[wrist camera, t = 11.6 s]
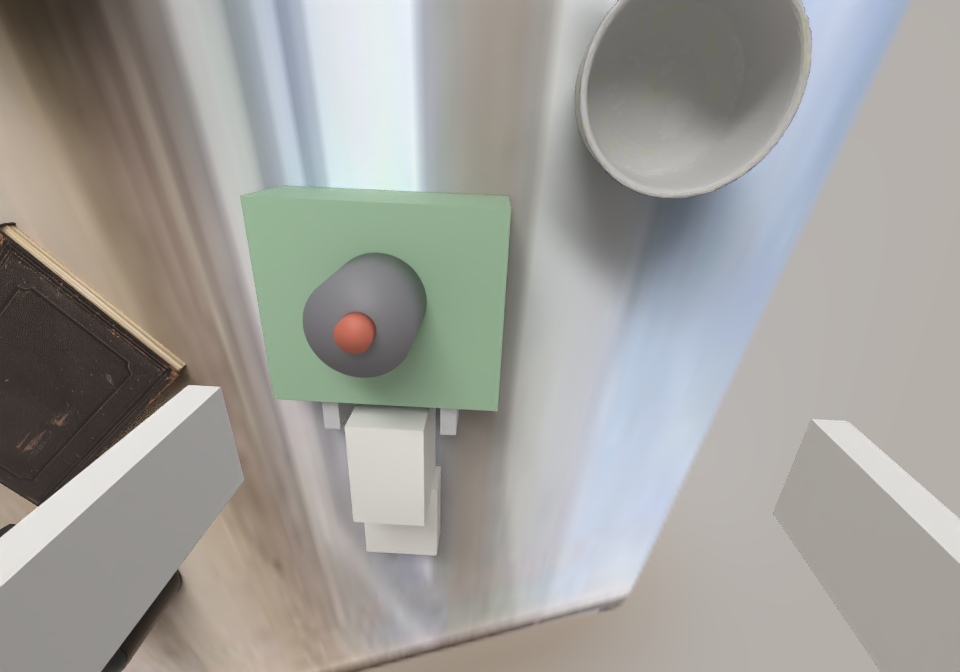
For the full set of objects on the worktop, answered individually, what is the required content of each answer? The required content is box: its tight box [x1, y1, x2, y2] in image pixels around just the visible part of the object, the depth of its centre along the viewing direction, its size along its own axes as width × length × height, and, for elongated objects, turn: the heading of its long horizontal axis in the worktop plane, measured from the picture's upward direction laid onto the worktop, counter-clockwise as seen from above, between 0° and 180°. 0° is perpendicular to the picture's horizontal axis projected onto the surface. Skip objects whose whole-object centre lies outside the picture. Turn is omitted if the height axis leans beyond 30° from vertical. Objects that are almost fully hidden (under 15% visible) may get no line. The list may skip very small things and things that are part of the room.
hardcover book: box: [0, 222, 186, 507], centre depth 39 cm, size 16×23×2 cm
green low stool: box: [240, 186, 511, 435], centre depth 30 cm, size 16×17×12 cm
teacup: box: [575, 0, 812, 199], centre depth 25 cm, size 14×11×8 cm
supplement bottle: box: [101, 571, 181, 672], centre depth 44 cm, size 7×7×12 cm
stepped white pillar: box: [345, 404, 441, 556], centre depth 39 cm, size 17×7×7 cm, turn 178°
